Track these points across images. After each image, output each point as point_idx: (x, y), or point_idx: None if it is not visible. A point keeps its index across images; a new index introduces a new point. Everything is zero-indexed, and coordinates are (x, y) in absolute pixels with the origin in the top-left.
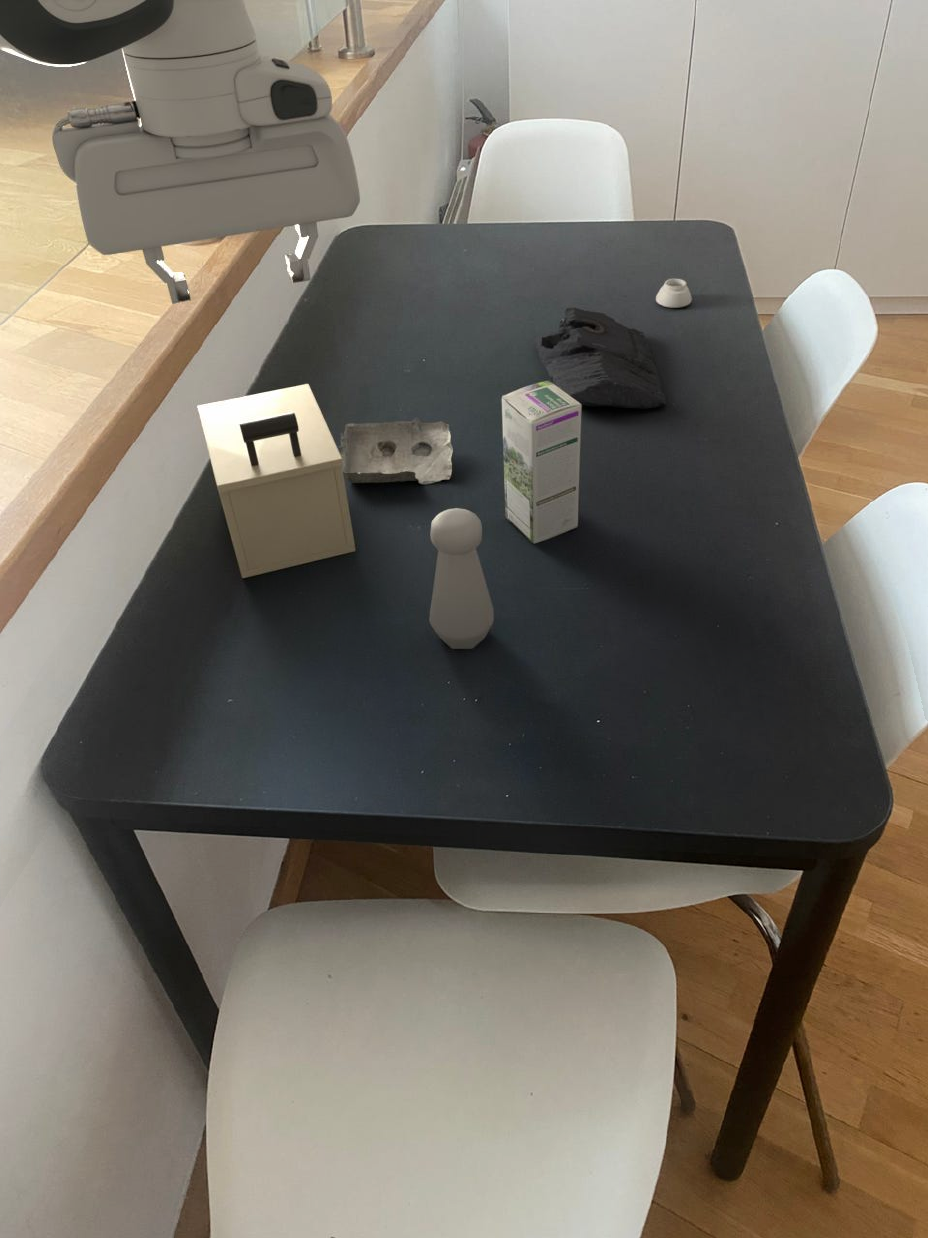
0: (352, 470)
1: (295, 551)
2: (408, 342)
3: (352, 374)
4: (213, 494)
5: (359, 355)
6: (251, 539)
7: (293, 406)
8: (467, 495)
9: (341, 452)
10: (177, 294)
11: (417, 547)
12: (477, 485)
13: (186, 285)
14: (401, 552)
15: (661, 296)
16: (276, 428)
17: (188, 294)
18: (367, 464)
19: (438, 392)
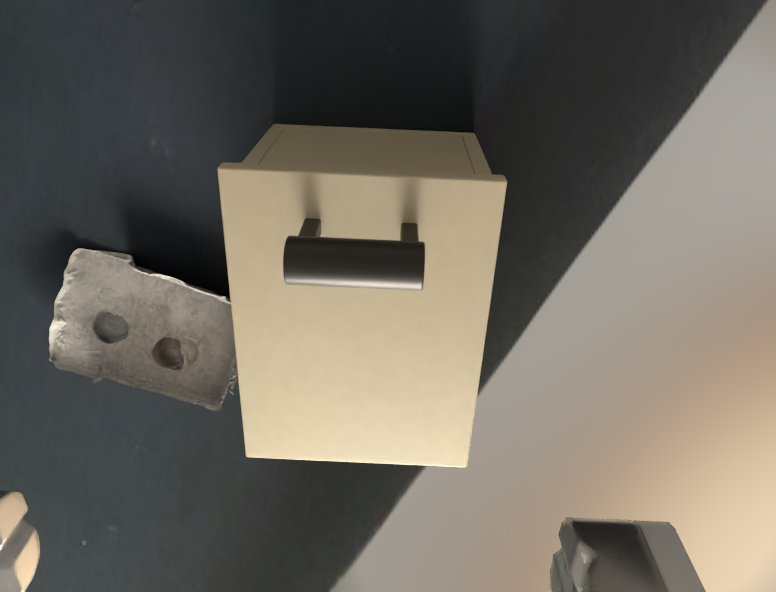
0: None
1: (375, 135)
2: (102, 586)
3: (196, 548)
4: None
5: (179, 583)
6: (448, 151)
7: (288, 396)
8: (54, 195)
9: None
10: (646, 553)
11: (164, 87)
12: (33, 215)
13: (596, 589)
14: (195, 85)
15: None
16: (339, 242)
17: (585, 540)
18: (210, 333)
19: (71, 466)
